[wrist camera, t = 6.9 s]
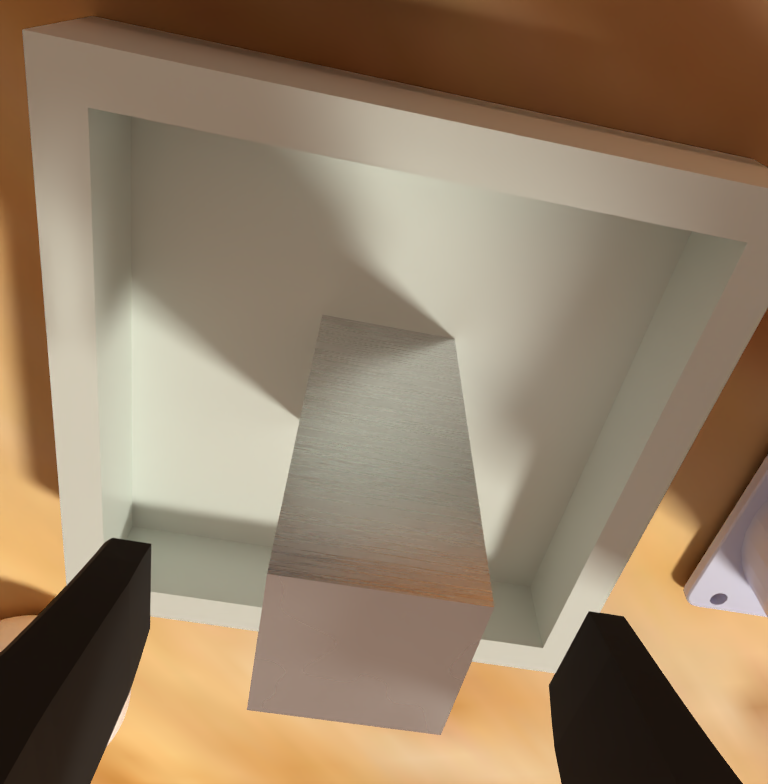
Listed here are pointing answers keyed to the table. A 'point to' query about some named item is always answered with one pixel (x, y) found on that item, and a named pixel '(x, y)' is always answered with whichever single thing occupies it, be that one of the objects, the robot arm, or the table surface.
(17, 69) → the table surface
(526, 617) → the tray
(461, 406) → the pin
